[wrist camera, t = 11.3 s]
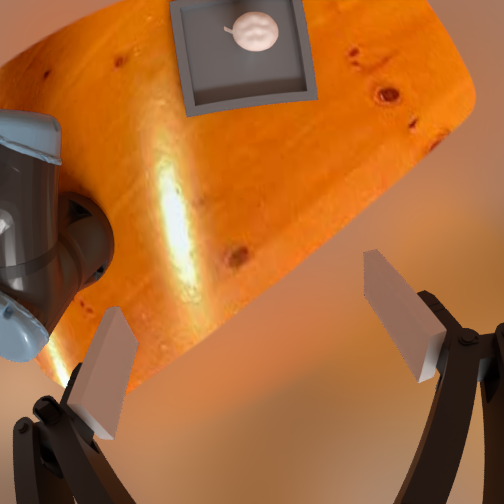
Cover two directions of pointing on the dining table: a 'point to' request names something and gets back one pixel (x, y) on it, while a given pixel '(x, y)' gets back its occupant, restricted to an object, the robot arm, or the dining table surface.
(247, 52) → the milkshake
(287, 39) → the slate tray
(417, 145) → the dining table surface
